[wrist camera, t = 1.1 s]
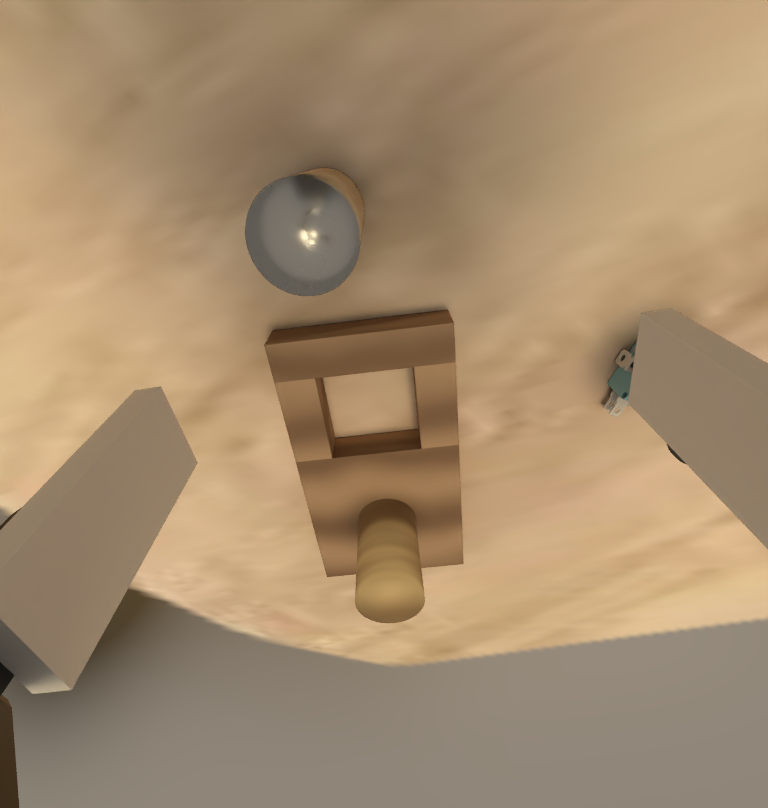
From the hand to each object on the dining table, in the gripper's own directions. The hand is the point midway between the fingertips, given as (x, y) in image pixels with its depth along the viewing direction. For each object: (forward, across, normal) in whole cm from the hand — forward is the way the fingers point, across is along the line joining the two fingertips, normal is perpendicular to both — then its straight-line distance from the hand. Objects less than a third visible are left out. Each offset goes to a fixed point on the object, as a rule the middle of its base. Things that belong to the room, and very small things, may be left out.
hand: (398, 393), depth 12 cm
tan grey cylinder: (+18, -3, +3) cm, 19 cm away
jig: (+18, -3, -15) cm, 23 cm away
